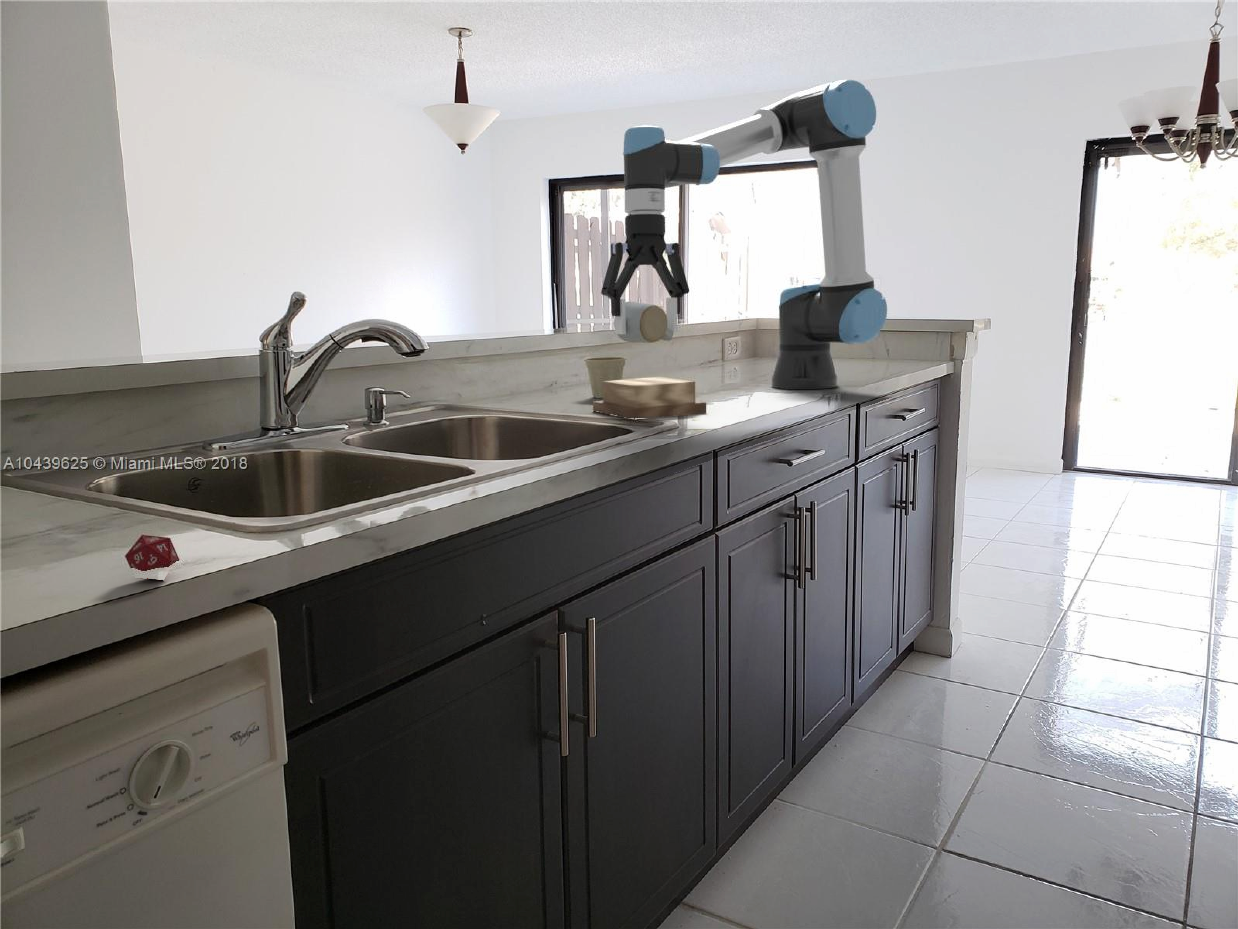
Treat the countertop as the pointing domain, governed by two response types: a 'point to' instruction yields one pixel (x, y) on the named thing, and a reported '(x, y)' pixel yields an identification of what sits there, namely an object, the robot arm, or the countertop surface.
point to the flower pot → (604, 372)
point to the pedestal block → (648, 392)
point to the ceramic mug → (645, 323)
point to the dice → (151, 553)
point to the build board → (650, 410)
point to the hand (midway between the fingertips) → (646, 332)
